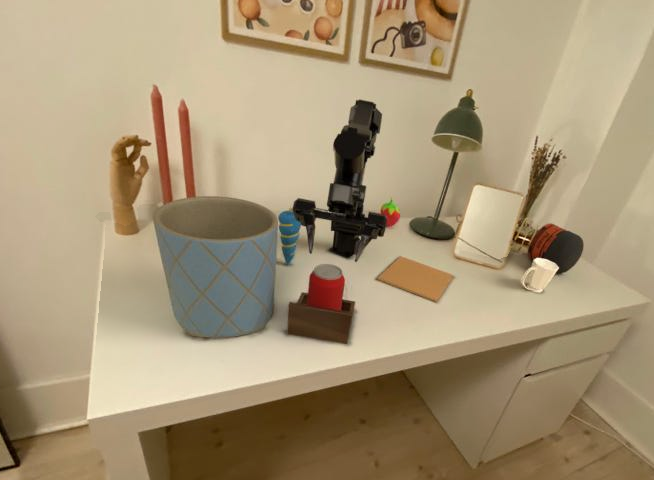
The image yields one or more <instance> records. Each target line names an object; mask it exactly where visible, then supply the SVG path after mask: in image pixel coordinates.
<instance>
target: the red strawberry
mask: <svg viewBox="0 0 654 480" xmlns="http://www.w3.org/2000/svg"><path fill="white" fill-rule="evenodd" d="M393 202H394V199H393V197H392V196H391V197H390V201H389V202H385V203H383V204H382V205H381V207H380V214H385V215H386V217H387V223H386V227H392V226H395V225H396V224H397V223H398V222H399V221H400V219H401V213H400V211H401V210H400V208H399V207H398V206H397V205H395V204H393Z"/></svg>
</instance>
